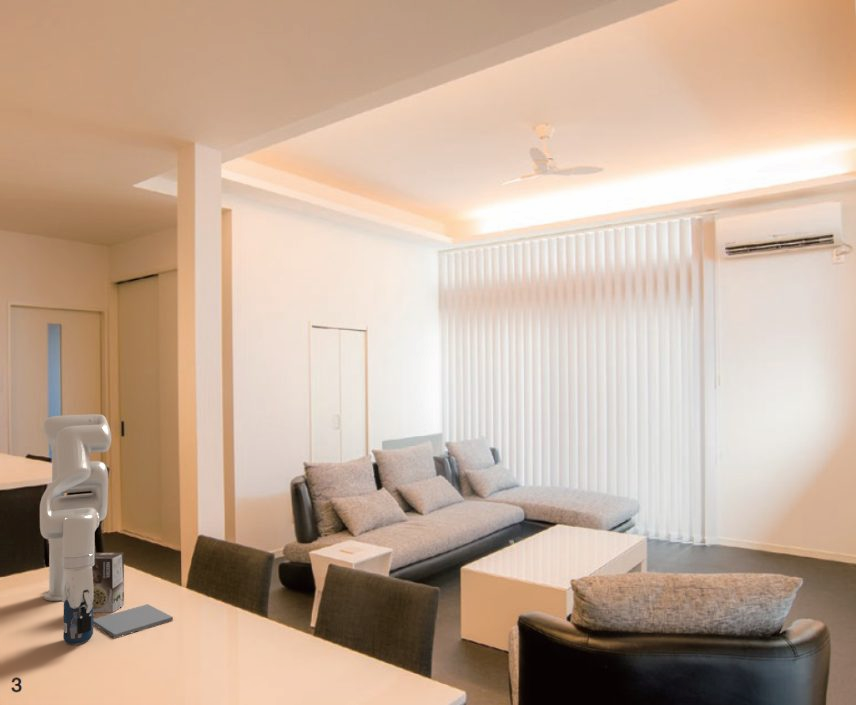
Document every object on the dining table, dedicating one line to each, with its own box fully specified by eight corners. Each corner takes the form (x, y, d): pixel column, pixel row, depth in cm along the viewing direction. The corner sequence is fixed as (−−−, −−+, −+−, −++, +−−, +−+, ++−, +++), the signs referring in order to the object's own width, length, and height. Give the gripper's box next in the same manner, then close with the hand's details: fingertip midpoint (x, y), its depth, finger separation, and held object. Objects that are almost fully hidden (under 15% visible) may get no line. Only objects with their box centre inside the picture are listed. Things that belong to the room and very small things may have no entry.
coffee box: (125, 605, 196) (125, 552, 197) (112, 613, 190) (112, 558, 191) (96, 604, 197) (97, 551, 198) (83, 612, 191) (83, 557, 191)
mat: (91, 623, 182) (91, 619, 183) (147, 607, 194) (147, 604, 194) (115, 638, 172) (115, 634, 172) (172, 620, 184) (172, 617, 184)
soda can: (86, 633, 175) (86, 588, 176) (97, 639, 171) (97, 593, 172) (59, 641, 170) (59, 595, 171) (70, 648, 166) (70, 601, 166)
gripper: (51, 558, 174) (51, 624, 174) (75, 570, 163) (75, 641, 162) (81, 552, 180) (81, 616, 179) (106, 563, 168) (106, 632, 168)
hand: (78, 628), depth 171 cm, fingers closed on soda can, 6 cm apart
